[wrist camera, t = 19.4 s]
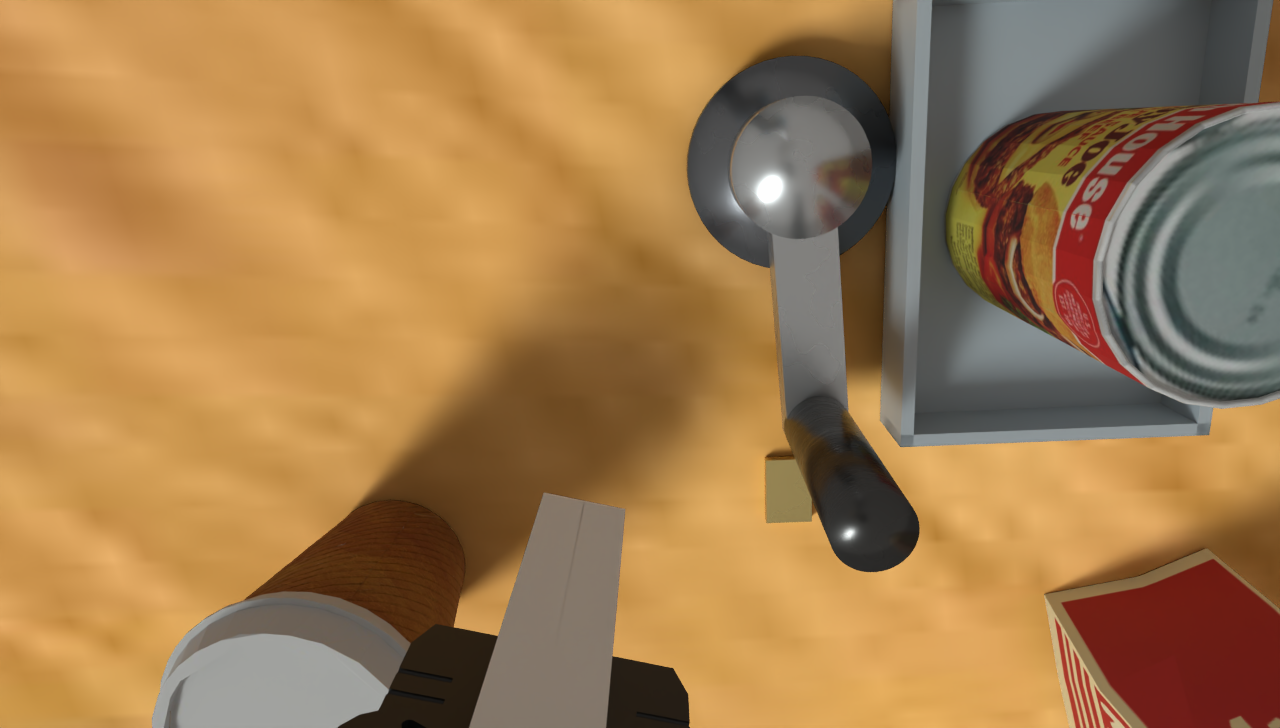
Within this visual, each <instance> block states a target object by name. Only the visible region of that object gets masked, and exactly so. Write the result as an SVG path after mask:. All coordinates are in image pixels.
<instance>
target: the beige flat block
mask: <svg viewBox="0 0 1280 728" xmlns="http://www.w3.org/2000/svg"><path fill="white" fill-rule="evenodd" d="M765 518H766V523H782V522H810V521H812V498H811V496H810V494H809V491H808V489H807V486H806V484H805V481H804V479H803V477H802V474H801V472H800V469H799V467H798V465H797V462H796V460H795V457H794V456H782V457H765Z"/></svg>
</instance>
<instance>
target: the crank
mask: <svg viewBox="0 0 1280 728" xmlns="http://www.w3.org/2000/svg"><path fill="white" fill-rule="evenodd" d="M871 172H872V155H871V149H870V145H869V141H868V139H867V136H866V134H865V132H864V130H863V128H862V126H861V125H860V123H859V122H858V121H857V119H856V118H855V117H854V116H853V115H852V114H851V113H850V112H849V111H848V110H846V109H845V108H843V107H842V106H841V105H839V104H837V103H835V102H833V101H831V100H828V99H825V98H821V97H816V96H795V97H790V98H785V99H782V100H778V101H775V102H772V103H770V104H768V105H766V106H764V107H762V108H761V109H759V110H758V111H756V112H755V113H754V114H752V115H751V116H750V117H749V118H748V119H747V120H746V121H745V122H744V124H743V125H742V126H741V128H740V129H739V131H738V132H737V134H736V136H735V138H734V140H733V142H732V145H731V148H730V151H729V156H728V164H727V174H728V181H729V186H730V189H731V192H732V194H733V197H734V199H735V201H736V202H737V204H738V205H739V207H740V208H741V209H742V211H743V212H744V213H745V214H746V215H747V216H748V217H749V218H750V219H751V220H752V221H753V222H754V223H756V224H757V225H758V226H759V227H761V228H762V229H764V230H766V231H767V238H768V251H769V263H770V276H771V288H772V300H773V313H774V325H775V338H776V350H777V363H778V375H779V387H780V400H781V412H782V425H783V430H784V433H785V435H786V438H787V441H788V443H789V445H790V448H791V450H792V453H793V455H794V457H795V460H796V462H797V465H798V467H799V469H800V472H801V474H802V477H803V479H804V481H805V484H806V486H807V489H808V491H809V494H810V496H811V498H812V501H813V503H814V506H815V508H816V510H817V513H818V515H819V518H820V520H821V522H822V525H823V527H824V530H825V532H826V534H827V537H828V539H829V542H830V544H831V547H832V549H833V551H834V553H835V554H836V556H837V557H838V558H839V559H840V560H841V561H842V562H843V563H844V564H846V565H848V566H849V567H851V568H853V569H856V570H859V571H864V572H878V571H884V570H887V569H890V568H892V567H894V566H896V565H898V564H900V563H901V562H902V561H904V560H905V559H906V558H907V557H908V556H909V555H910V554H911V552H912V551H913V549H914V548H915V545H916V543H917V541H918V537H919V521H918V517H917V515H916V513H915V511H914V509H913V508H912V506H911V505H910V503H909V502H908V500H907V499H906V497H905V496H904V494H903V493H902V491H901V490H900V488H899V487H898V485H897V484H896V483H895V481H894V480H893V478H892V477H891V475H890V474H889V472H888V471H887V469H886V468H885V466H884V465H883V463H882V462H881V460H880V459H879V457H878V456H877V454H876V453H875V451H874V450H873V448H872V447H871V445H870V444H869V442H868V441H867V439H866V438H865V436H864V435H863V433H862V432H861V430H860V429H859V428H858V426H857V425H856V423H855V422H854V420H853V419H852V417H851V416H850V414H849V413H848V397H847V380H846V362H845V345H844V327H843V310H842V292H841V275H840V257H839V240H838V226H840V225H841V224H842V223H844V222H845V221H846V220H847V219H848V218H849V217H850V216H851V215H852V214H853V213H854V212H855V211H856V209H857V208H858V206H859V205H860V203H861V202H862V200H863V198H864V196H865V194H866V192H867V189H868V186H869V182H870V179H871Z"/></svg>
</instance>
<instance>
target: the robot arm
mask: <svg viewBox="0 0 1280 728" xmlns="http://www.w3.org/2000/svg"><path fill="white" fill-rule="evenodd" d="M624 519H625V509H622V508H618V507H613V506H608V505H603V504H598V503H593V502H588V501H583V500H578V499H574V498H569V497H564V496H559V495H554V494H549V493H544V494H543V497H542V500H541V503H540V506H539V509H538V513H537V516H536V519H535V522H534V525H533V528H532V531H531V535H530V538H529V541H528V544H527V547H526V550H525V553H524V557H523V560H522V563H521V566H520V569H519V572H518V575H517V579H516V582H515V585H514V588H513V591H512V594H511V597H510V600H509V604H508V607H507V610H506V613H505V616H504V619H503V622H502V626H501V629H500V632H499V635H498V636H495V635H490V634H485V633H480V632H475V631H469V630H464V629H459V628H454V627H449V626H444V625H439V624H435V625H434V626H432V627H431V628H430V629H428V630H427V631H426V632H424V633H423V634H422V635H421V636H419V637H418V638H417V639H415V640H414V641H413V642H411V644H410V646H409V648H408V650H407V652H406V655H405V657H404V659H403V661H402V663H401V665H400V667H399V671H398V673H396V675H395V677H394V679H393V681H392V683H391V686H390V688H389V691H388V694H386V696H385V698H384V700H383V702H382V704H381V706H380V708H379V710H378V711H373V712H369V713H364V714H360V715H358V716H356V717H354V718H352V719H351V720H349V721H347V722H345V723H343V724H342V725H340V726H338V728H690V727H689V703H688V693H687V692H686V690H685V688H684V686H683V685H682V683H681V681H680V680H679V678H678V676H677V674H676V673H675V671H674V669H673V668H669V667H664V666H659V665H654V664H649V663H644V662H639V661H634V660H628V659H623V658H618V657H613V656H612V654H613V643H614V632H615V621H616V609H617V598H618V587H619V576H620V564H621V553H622V542H623V531H624Z"/></svg>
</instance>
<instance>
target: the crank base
mask: <svg viewBox="0 0 1280 728" xmlns="http://www.w3.org/2000/svg"><path fill="white" fill-rule="evenodd" d="M795 96H816V97H821V98H825V99H828V100H831V101H833V102H835V103H837V104H839V105H841V106H842V107H843V108H845V109H846V110H848V111H849V112H850V113H851V114H852V115H853V116H854V117H855V118H856V119H857V121H858V122H859V123H860V125H861V126H862V128H863V130H864V132H865V134H866V136H867V139H868V141H869V145H870V149H871V155H872V172H871V179H870V182H869V186H868V189H867V192H866V194H865V196H864V198H863V200H862V202H861V203H860V205H859V206H858V208H857V209H856V211H855V212H854V213H853V214H852V215H851V216H850V217H849V218H848V219H847V220H846V221H845V222H844V223H842V224H841V225H840V226H838V240H839V255H841V254H843V253H844V252H845V251H847V250H848V249H850V248H851V247H853V246H854V245H855V244H856V243H857V242H858V241H859V240H861V239H862V238H863V237H864V236H865V235H866V234H867V232H868V231H869V230H870V229H871V228H872V227H873V225H874V224H875V222H876V221H877V219H878V218H879V216H880V215H881V213H882V211H883V209H884V207H885V205H886V203H887V201H888V198H889V196H890V193H891V190H892V187H893V182H894V178H895V172H896V161H897V160H896V143H895V137H894V132H893V129H892V125H891V122H890V119H889V117H888V115H887V113H886V110H885V108H884V106H883V105H882V103H881V102H880V100H879V98H878V97H877V95H876V94H875V93H874V92H873V91H872V90H871V88H870V87H869V86H868V85H867V84H866V83H865V82H864V81H863V80H861V79H860V78H859V77H858V76H857V75H855V74H854V73H852V72H851V71H849V70H848V69H846V68H844V67H842V66H840V65H838V64H836V63H833V62H830V61H827V60H824V59H821V58H815V57H809V56H787V57H779V58H774V59H771V60H767V61H763V62H761V63H758V64H756V65H754V66H751V67H749V68H748V69H746V70H744V71H742V72H741V73H739V74H737V75H736V76H735V77H733V78H732V79H731V80H729V81H728V82H727V83H726V84H724V85H723V86H722V87H721V88H720V89H719V90H718V91H717V92H716V93H715V94H714V95H713V97H712V98H711V99H710V101H709V102H708V103H707V104H706V106H705V107H704V109H703V111H702V113H701V114H700V116H699V118H698V120H697V122H696V125H695V127H694V129H693V132H692V136H691V139H690V143H689V148H688V155H687V178H688V185H689V190H690V194H691V198H692V200H693V203H694V206H695V208H696V210H697V212H698V214H699V216H700V218H701V220H702V222H703V224H704V225H705V226H706V228H707V229H708V230H709V232H710V233H711V234H712V236H713V237H714V238H715V239H716V240H717V241H718V242H719V243H720V244H721V245H723V246H724V247H725V248H726V249H727V250H729V251H730V252H732V253H733V254H735V255H736V256H738V257H740V258H741V259H744V260H746V261H748V262H751V263H753V264H756V265H760V266H763V267H768V268H770V263H769V251H768V238H767V231H766V230H764V229H762V228H761V227H759V226H758V225H757V224H756V223H754V222H753V221H752V220H751V219H750V218H749V217H748V216H747V215H746V214H745V213H744V212H743V211H742V209H741V208H740V207H739V205H738V204H737V202H736V201H735V199H734V197H733V194H732V192H731V189H730V186H729V181H728V174H727V164H728V156H729V151H730V148H731V145H732V142H733V140H734V138H735V136H736V134H737V132H738V131H739V129H740V128H741V126H742V125H743V124H744V122H745V121H746V120H747V119H748V118H749V117H750V116H751V115H752V114H754V113H755V112H756V111H758V110H759V109H761V108H762V107H764V106H766V105H768V104H770V103H772V102H775V101H778V100H782V99H785V98H790V97H795Z"/></svg>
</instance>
